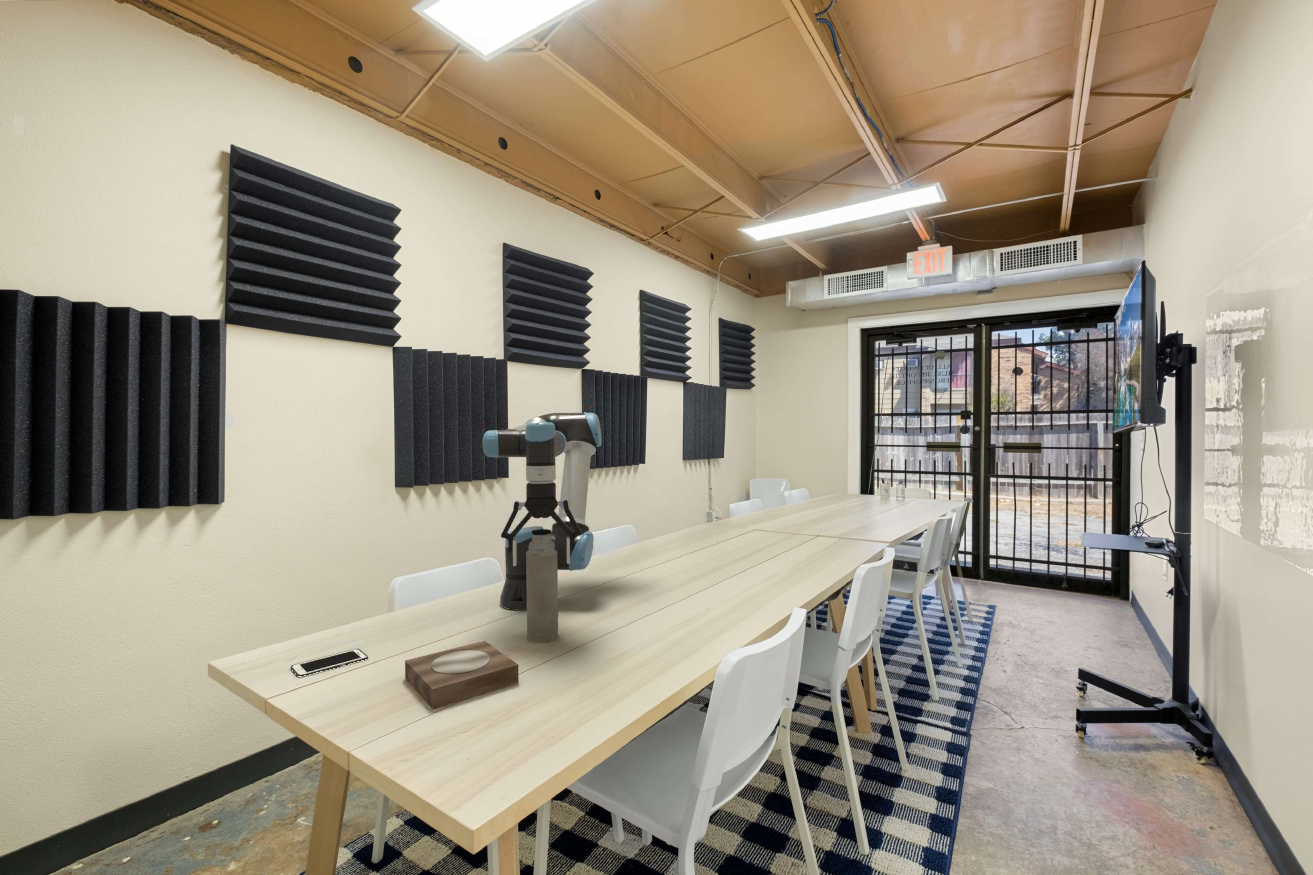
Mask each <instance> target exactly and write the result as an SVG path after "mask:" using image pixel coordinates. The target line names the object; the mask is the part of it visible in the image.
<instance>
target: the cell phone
mask: <svg viewBox="0 0 1313 875" xmlns="http://www.w3.org/2000/svg"><path fill="white" fill-rule="evenodd" d="M365 659H367V660H369V656H368V654H366V653H365V652H364V651H362V650H361V649H360V648H352V649H349V650H345V651H340V652H337V653H334V654H330V655H327V656H326V655H324V656H322V657H319V658H318V657H317V658H314V659H310V660H307V661H303V662H298V663H295V664H293V665H291V666H290V670H291V669H292V670H293V671H294V672H295V673H296V675H295V676H297V675H298V676H304V675H309V674H313V673H316V672H320V671H324V672H326V671H325V670H328V671H330V670H329V669H332V670H334V669H333V668H335V669H338V668H337V667H339V668H341V667H340V666H342V667H344V666H343V665H346V666H349V665H348V664H350V663H353V662H357V661H361V660H364V661H366V660H365ZM361 662H362V661H361ZM357 663H358V662H357ZM350 665H351V664H350ZM292 670H291V671H292ZM294 672H293V673H294ZM295 673H294V674H295ZM313 675H314V674H313Z"/></svg>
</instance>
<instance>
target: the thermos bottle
mask: <svg viewBox="0 0 1313 875" xmlns="http://www.w3.org/2000/svg"><path fill="white" fill-rule="evenodd" d="M551 531H552V529H547V528H543V529H538V530H533V531H532V534H533V536H532V542H530V543H529V547H528V549H529V551H527V552H526V585H527V610H526V639H527V640H528V641H529V642H532V643H535V644H536V643H548V642H552V641H555V640H557V639H558V638H559V588H558V587H559V582H558V577H559V576H558V575H559V574H558V571H559V570H558V566H557V550H555V543H554V542H553V541H552V540H551V535H550V534H551Z"/></svg>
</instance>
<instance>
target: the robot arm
mask: <svg viewBox="0 0 1313 875" xmlns="http://www.w3.org/2000/svg"><path fill="white" fill-rule="evenodd" d="M482 437H483V438H482V450H483V453H484V455H485V456H486V457H488V458H497V459H499V458H525V473H526V474H525V477H526V480H525V481H527V483H526V485H525V486H526V487H525V488H526V489H525V490H526V492H525V496H526V497H525V498H526V499H525V501H519V500H515V501H514V503H513V508H512V512H511V514H510V516H509V518H508V521H507V522H506V524H505V526H504V528H503V530H502V532H501V533H500V537H501V538H502V539H505V543H504V544H505V546H504V558H505V564H504V565H505V581H504V585H503V587H502V591H501V593H500V599H499V606H500V607H501V606H503V607H505V608H504V609H506V608H509V609H508V610H512V609H527V585H526V552H527V551H529V549H528V547H529V543H530V542H532V536H533V534H532V531H533V530H538V529H544V526H541V525H539V526H538V525H534V526H526V527H524V526H525V525H526V524H527V523H528V522H529V521H530V520H531V518H534V519H541V518H543V519H548V518H550V517H551V518H552V520H554V521H555V522H554V523H553V524H552V525H551V534H550V535H551V540H552V541H553V542H554V543H555V550H557V566H558V571H570V572H571V571H572V572H573V571H579V570H581V571H582V570H585V569H586V568H587V567H588V566H589V565H590V561H591V559H592V555H593V550H594V541H595V540H594V534H593V532H592V531H590V526H589V525H588V524H587V523H586V513H587V503H588V492H589V480H590V468H591V458H592V456H593V455H595V453H596V451H597V448H599V447H601V446H602V430H601V424H600V419H599V417H598V415H597V414H596V413H595V412H586V411H584V412H552V413H551V412H550V413H546V414H543V415H539V416H535V417H532V418H530V419H528V420H527V421H526V422H525V423H523V424H519V425H516V426H513V427H510V428H508V429H507V428H506V429H499V430H498V429H495V430H487V431H486V432H485V433H484V434H483V436H482ZM563 453H564V462H563V469H562V476H561V477H562V478H561V479H562V480H561V488H560V497H559V500H557V493H556V492H557V489H556V488H557V485H556V484H557V483H556V482H554V481H556V479H557V476H556V475H557V474H556V471H557V470H556V468H557V467H556V458H557V457H559V456H560V455H562V454H563ZM523 507H524V508H525V509H526V511H527V513H526V514H525V516H524V517H523V518H522V519H521V520H520V522H519V523H518V524H517V526H516V527H515V528H514V529H513V530H511V531H510V529H511V527H512V525H513V523H514V521H515V518H516V517H517V515H518V512H519V511H521V510H522V508H523ZM557 508H558V513H556V511H555V510H556V509H557ZM503 607H502V608H503Z"/></svg>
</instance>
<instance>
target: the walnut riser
mask: <svg viewBox="0 0 1313 875" xmlns="http://www.w3.org/2000/svg"><path fill="white" fill-rule="evenodd" d="M404 673H405V674H404V679H405V680H406V681H407V683H408V684H410V686H411V687H412V688H413V689H414V690H415V691H416V692H417V693H418V695H419V696H420V697H421V699H423V700H424V701H425V703H426V704H427V705H428V706H429V707H430V708H431V709H432V710H436V709H439V708H442V707H445V706H449V705H452V704H455V703H458V702H461V701H465V700H469V699H472V698H474V697H475V698H476V697H478V696H481V695H485V694H487V693H490V692H494V691H497V690H501V689H503V688H508V687H511V686H513V685H516V684H519V664H518V663H517V662H516V661H514V660H513V659H511V658H510V657H508V655H505V654H504V653H503V652H501V651H499V649H497V648H495V647H494V646H493V645H491V644H490V643H488V642H487V641H485V640H481V641H478V642H475V643H471V644H470V643H469V644H466V645H461V646H457V647H454V648H450V649H449V648H448V649H446V650H442V651H438V652H434V653H431V654H426V655H421V656H418V657H413V658H410V659H406V660H404Z"/></svg>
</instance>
